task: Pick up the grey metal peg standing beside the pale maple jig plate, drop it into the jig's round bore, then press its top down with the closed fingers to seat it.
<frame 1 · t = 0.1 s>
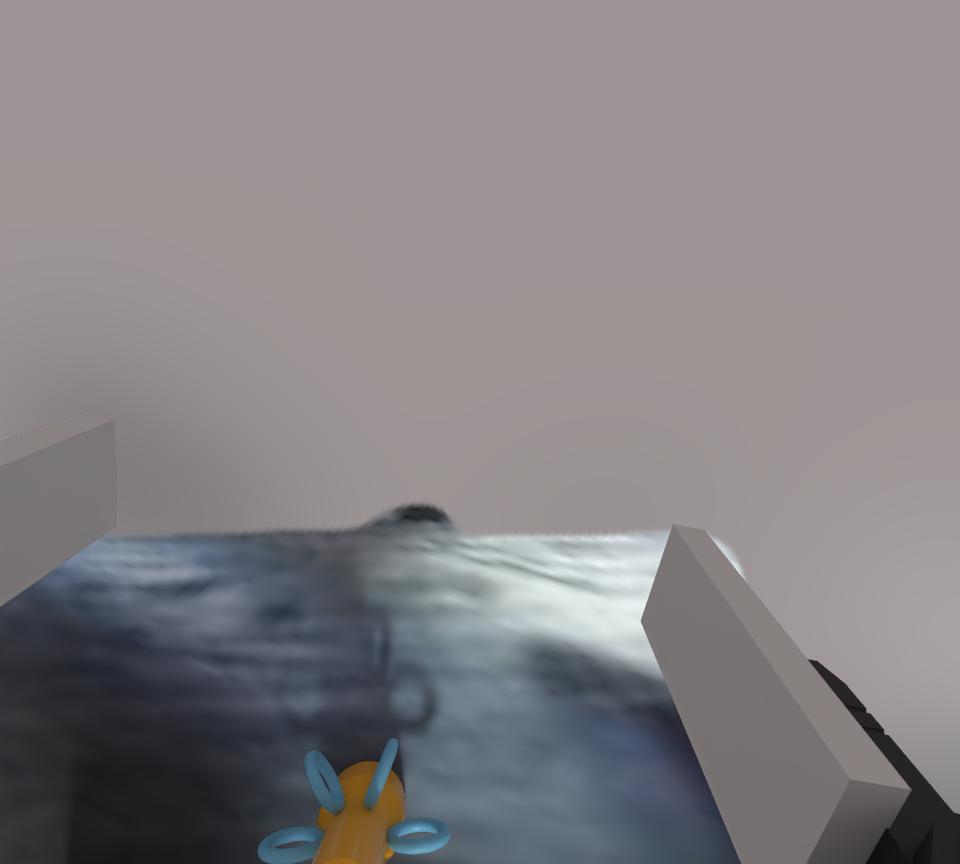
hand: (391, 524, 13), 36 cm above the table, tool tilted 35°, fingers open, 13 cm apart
orange post with rings: (366, 803, 42), on the table
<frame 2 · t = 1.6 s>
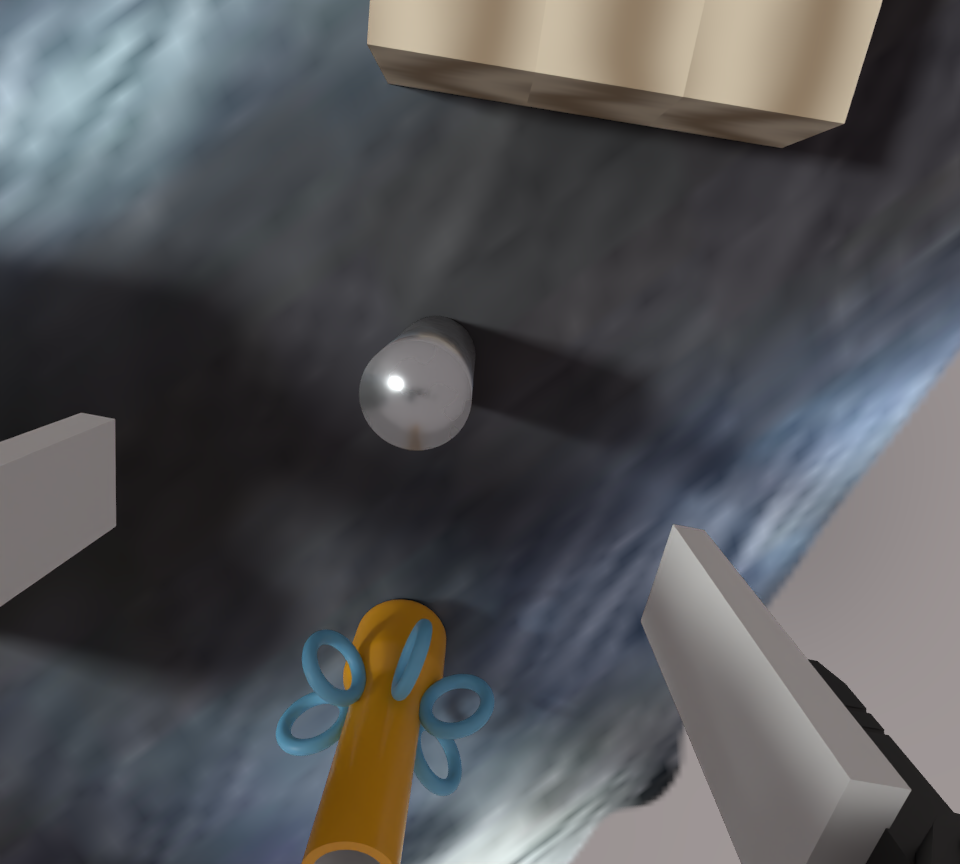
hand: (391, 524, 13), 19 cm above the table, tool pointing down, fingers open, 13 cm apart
orange post with rings: (402, 632, 36), on the table
grey metal peg: (436, 355, 31), on the table
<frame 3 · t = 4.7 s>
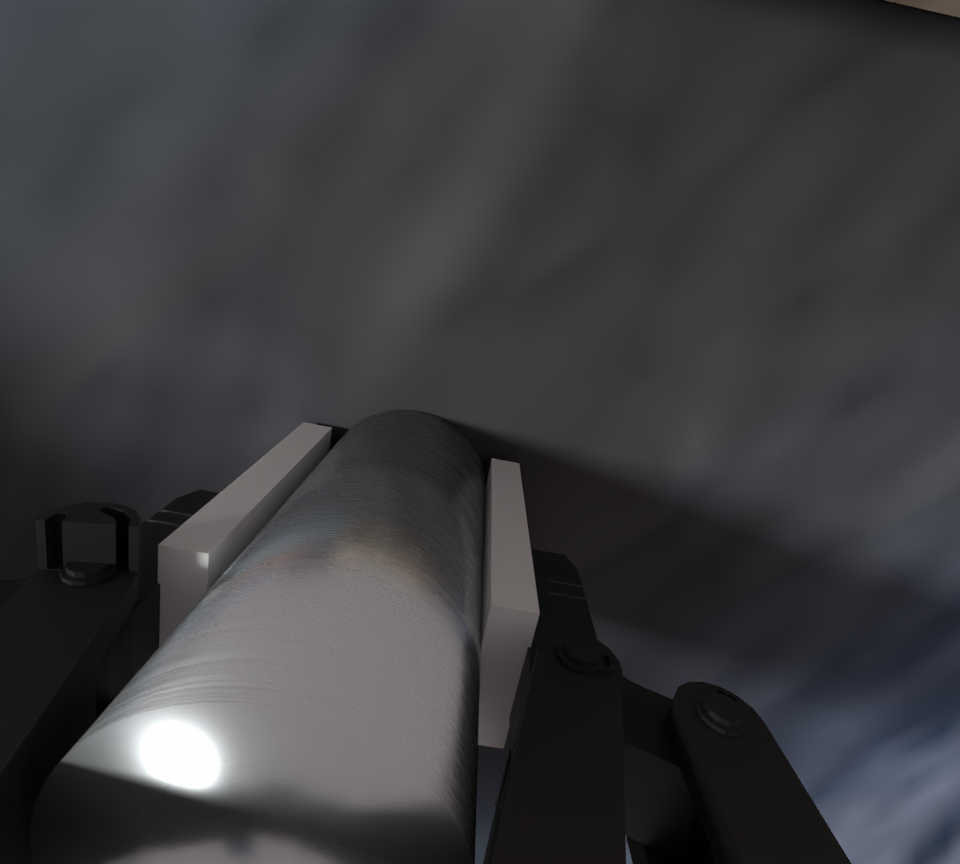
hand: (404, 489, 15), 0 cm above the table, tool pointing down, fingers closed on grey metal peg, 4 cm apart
grey metal peg: (406, 486, 15), on the table, touching gripper
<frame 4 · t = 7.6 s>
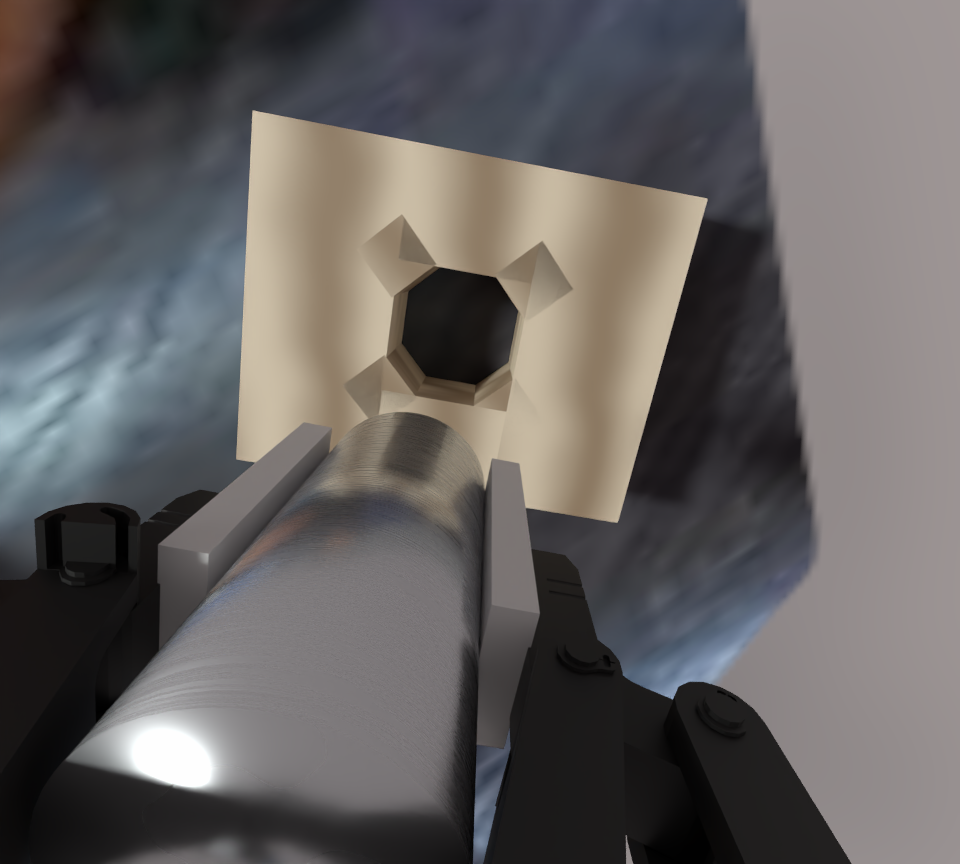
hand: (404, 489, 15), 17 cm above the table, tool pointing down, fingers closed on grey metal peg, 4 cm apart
jig: (459, 327, 31), on the table
grey metal peg: (405, 488, 15), point 17 cm above the table, touching gripper
when the fingers open (6 cm above the table, at t = 10.5 s): grey metal peg drops 4 cm, resting in jig.
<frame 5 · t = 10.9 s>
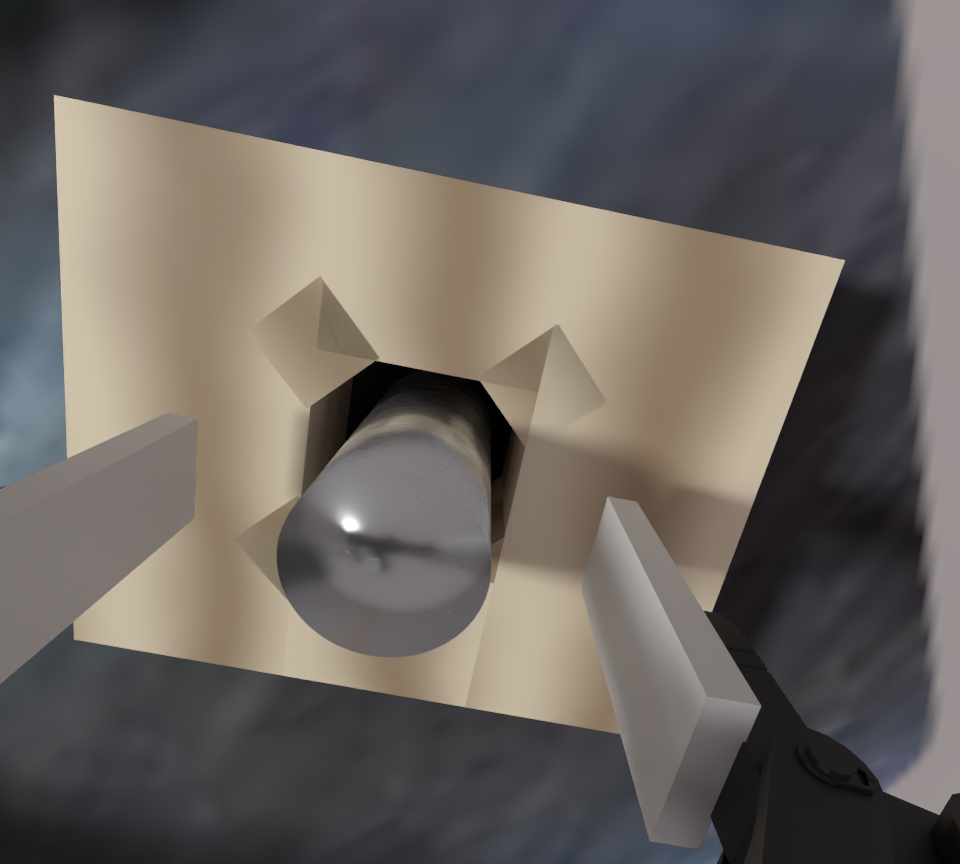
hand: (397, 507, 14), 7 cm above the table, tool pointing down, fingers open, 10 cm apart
jig: (429, 425, 21), on the table
grey metal peg: (433, 427, 21), resting in jig
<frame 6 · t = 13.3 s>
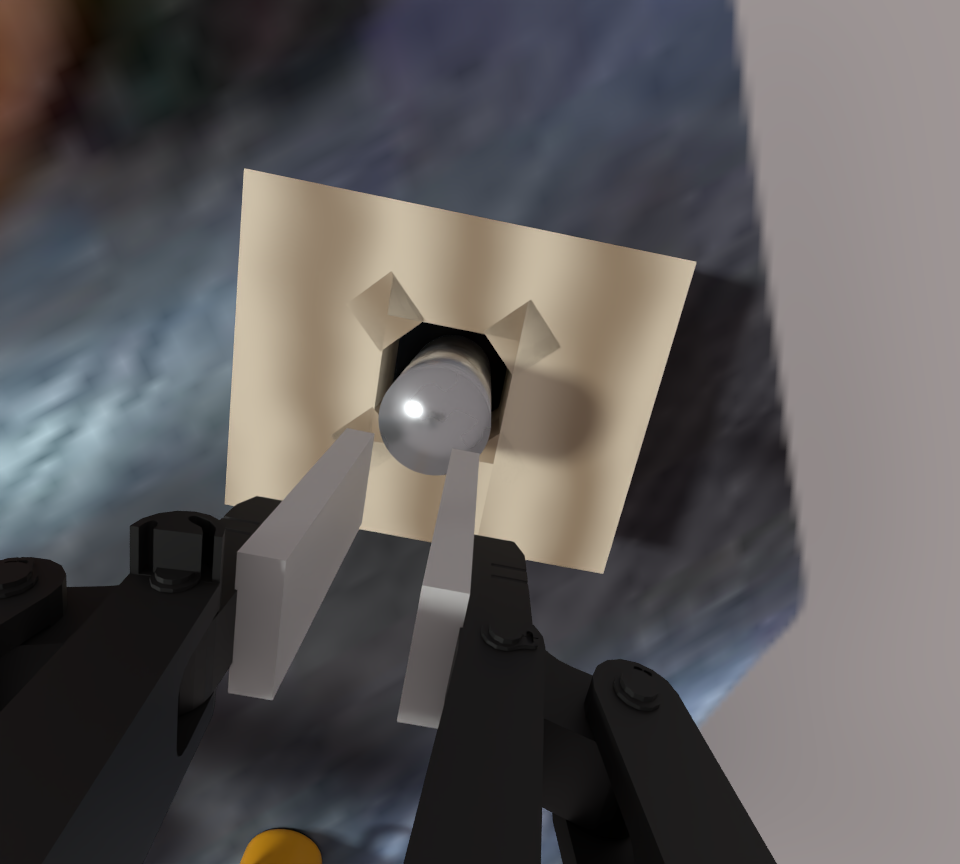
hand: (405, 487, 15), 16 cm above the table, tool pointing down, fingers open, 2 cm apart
orange post with rings: (286, 851, 42), on the table
jig: (450, 372, 31), on the table
grey metal peg: (452, 373, 31), resting in jig
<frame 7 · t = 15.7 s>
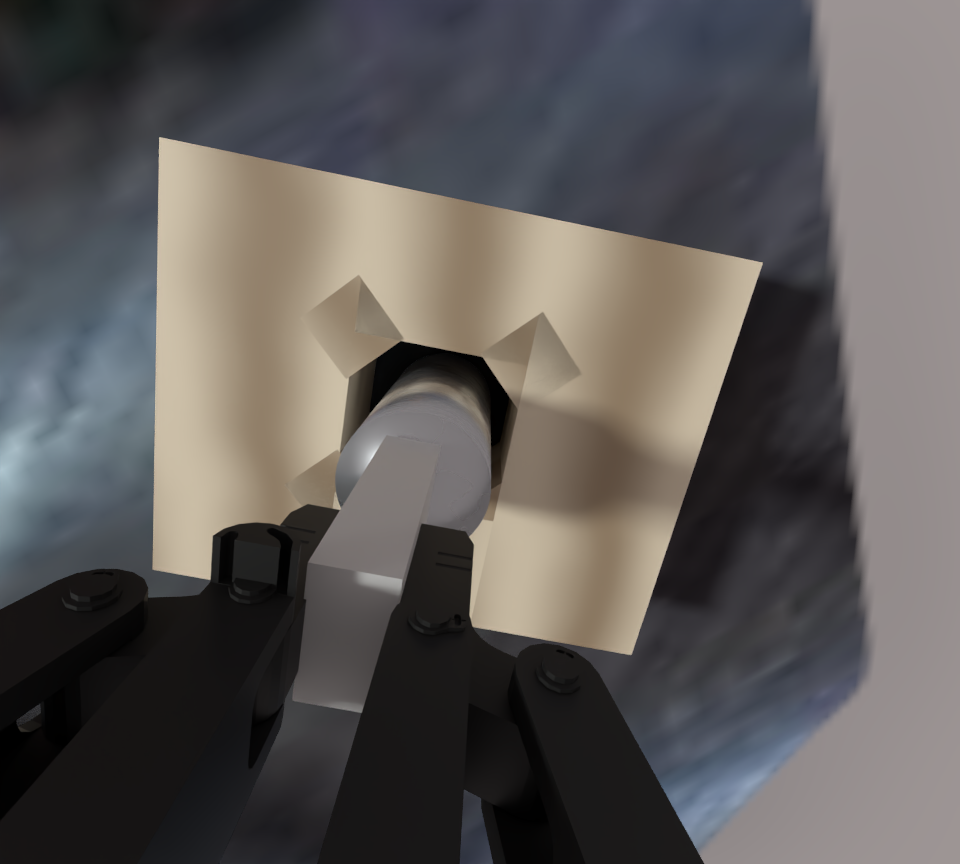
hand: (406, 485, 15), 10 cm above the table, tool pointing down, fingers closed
jig: (439, 399, 25), on the table
grey metal peg: (442, 401, 25), resting in jig, touching gripper
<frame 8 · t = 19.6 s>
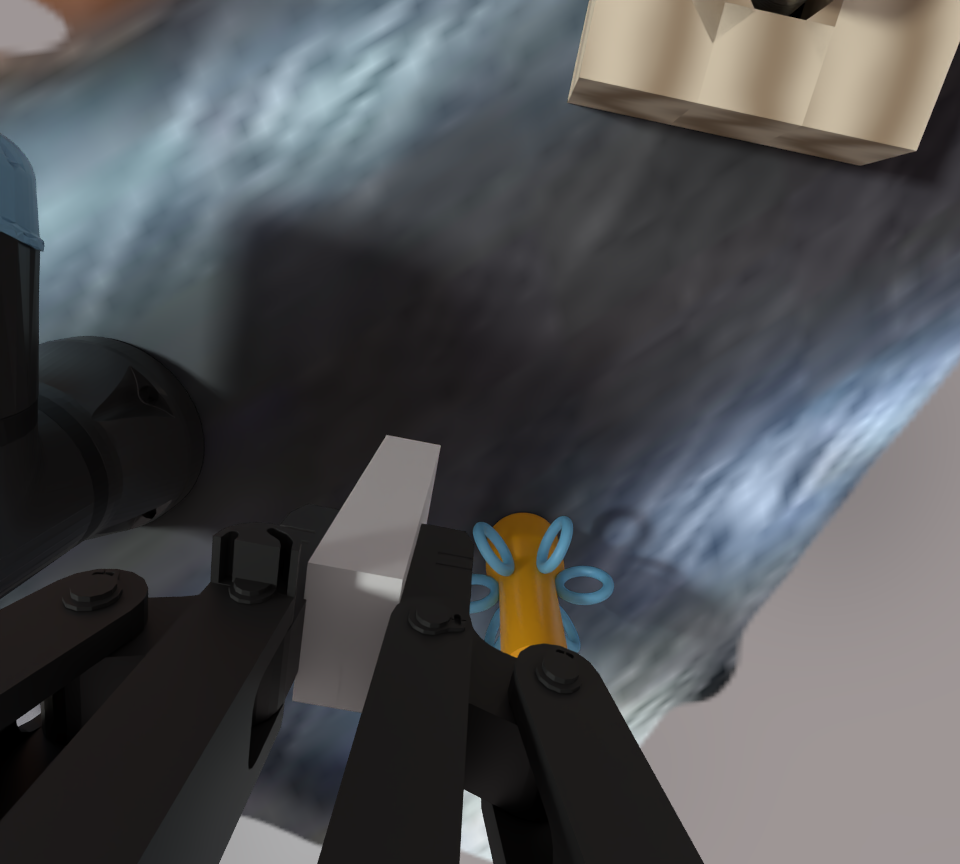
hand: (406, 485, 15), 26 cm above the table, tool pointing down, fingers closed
orange post with rings: (522, 541, 45), on the table
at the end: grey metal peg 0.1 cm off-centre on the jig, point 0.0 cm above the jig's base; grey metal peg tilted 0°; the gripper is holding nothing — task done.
